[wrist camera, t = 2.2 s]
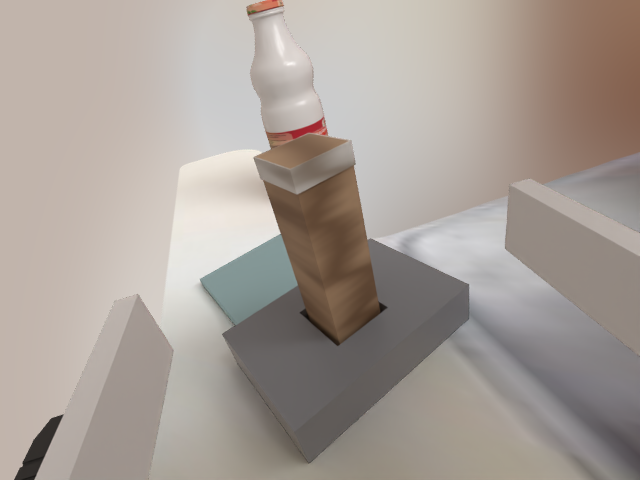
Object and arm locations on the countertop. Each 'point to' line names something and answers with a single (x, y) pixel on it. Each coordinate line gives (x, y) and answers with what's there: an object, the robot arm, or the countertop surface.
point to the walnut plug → (323, 230)
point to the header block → (346, 348)
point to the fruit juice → (283, 78)
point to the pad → (252, 280)
